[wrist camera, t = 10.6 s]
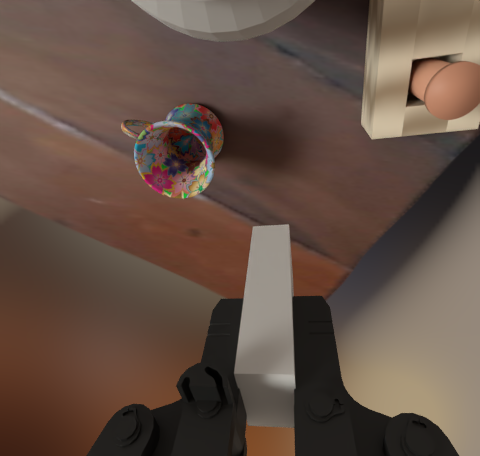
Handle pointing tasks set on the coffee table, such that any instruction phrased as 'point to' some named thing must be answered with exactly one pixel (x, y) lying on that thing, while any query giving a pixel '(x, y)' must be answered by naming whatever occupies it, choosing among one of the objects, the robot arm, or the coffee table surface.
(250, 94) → the coffee table surface
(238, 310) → the robot arm
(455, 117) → the terracotta plug
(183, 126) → the mug
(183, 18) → the vase
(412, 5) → the block
